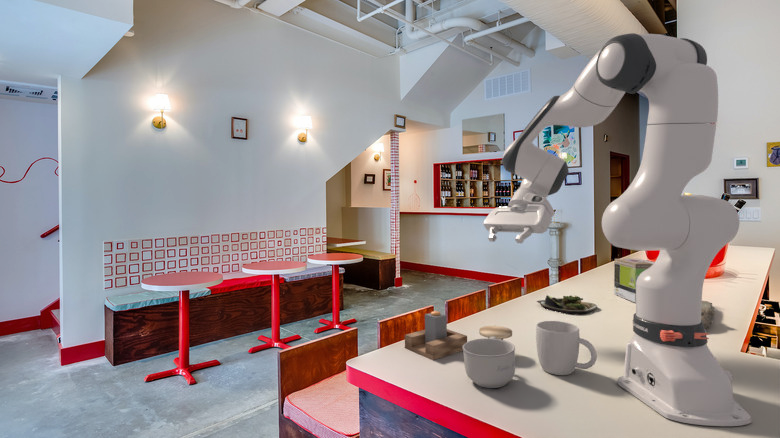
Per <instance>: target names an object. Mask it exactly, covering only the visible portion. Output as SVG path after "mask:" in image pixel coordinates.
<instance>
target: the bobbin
mask: <svg viewBox="0 0 780 438" xmlns="http://www.w3.org/2000/svg"><path fill="white" fill-rule="evenodd" d="M478 332H479V335H480V336H482V337H484V338H490V337H492V336H493V337H496V338H497V339H501V340H505V339H508V338H511V337H513V330H512V329H511V328H509V327H506V326H500V325H486V326H485V325H484V326H482V327H480V328H479V331H478Z"/></svg>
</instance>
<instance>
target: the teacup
mask: <svg viewBox="0 0 780 438" xmlns="http://www.w3.org/2000/svg"><path fill="white" fill-rule="evenodd" d="M515 350H516V347H515V345H514V344H513V343H512V342H511V341H508V340H505V339H503V340H501V339H497V338H496V337H493V336H492V337H490V338H487V337H484V338H476V339H471V340H468V341H467V342H466V343H465V344H464V345H463V351H462V352H463V361H464V369H465V373H466V376H467V377H468V378H469V380H471V381H472V382H474V384H476V385H477V386H479V387H482V388H487V389H498V388H502V387H504V386H505V385H507V384H508V383H509V382H510V381H512V379H513V378H514V376H515V373H516V354H515V353H516V352H515Z"/></svg>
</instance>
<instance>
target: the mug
mask: <svg viewBox="0 0 780 438" xmlns="http://www.w3.org/2000/svg"><path fill="white" fill-rule="evenodd" d="M535 327H536V328H535V340H536V341H535V343H536V351H537V358H538V363H539V365H540V367H541V368H542V370H543V371H544V372H546V373H548V374H551V375H555V376H556V375H557V376H568V375H571V374H573V373H574V371H575V370H576V368H577V369H581V370H588V369H590V368H593V366H594V365H595V364H596V362H597V358H598V355H597V350H596V348H595V347H594V345H593V344H592V343H591V342H590V341H589V340H587V339H584V338H580V328H579V327H578V326H577V325H575V324H572V323H569V322H566V321H565V322H564V321H558V320H544V321H540V322H538V323H537V324H536V326H535ZM580 344H581V345H583V346H584V347H586V348H587V350H588V351H589V352H590V360H589V361H588V362H584V363H582V362H578V360H579V353H580Z"/></svg>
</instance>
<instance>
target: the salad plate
mask: <svg viewBox="0 0 780 438" xmlns="http://www.w3.org/2000/svg"><path fill="white" fill-rule="evenodd" d="M583 300H584V298H583V297H580V296H577V295H574V296H572V294H571V295H563V296H562V297H561V298H559V297H557V298H556V297H552V296H550V295H546V296H545V299H542V300H536V303H538V304H540V305H541V307H542V308H543V309H544V308H545V310H547V309H548V310H547V311H551V312H555V311H556V313H559V312H561V313H560V314H564V313H565V314H566V315H574V314H579V315H585V313H586V314H589V313H590V312H593V311H594V310H595V309H597V308H598V305H597V304H596V303H593V302H586V301H583ZM586 307H587V308H586ZM588 309H589V310H588Z"/></svg>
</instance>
